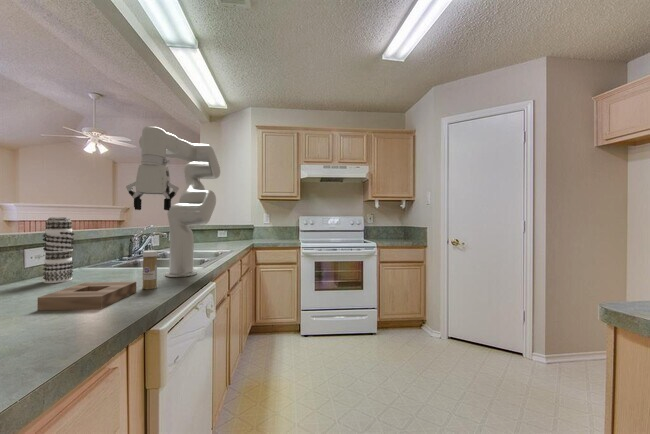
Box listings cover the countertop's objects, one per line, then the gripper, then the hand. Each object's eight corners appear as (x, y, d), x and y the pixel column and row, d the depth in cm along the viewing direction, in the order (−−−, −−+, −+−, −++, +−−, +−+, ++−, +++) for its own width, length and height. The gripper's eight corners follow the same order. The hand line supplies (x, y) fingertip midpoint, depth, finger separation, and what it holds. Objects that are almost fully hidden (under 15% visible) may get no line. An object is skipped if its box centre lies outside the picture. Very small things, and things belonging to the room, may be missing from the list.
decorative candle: (74, 277, 119) (75, 217, 119) (73, 281, 112) (74, 217, 112) (43, 280, 113) (44, 217, 113) (40, 284, 106) (41, 217, 106)
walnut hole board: (85, 292, 95) (85, 282, 95) (136, 291, 97) (136, 281, 97) (37, 310, 77) (37, 297, 77) (101, 308, 79) (101, 296, 79)
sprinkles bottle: (140, 290, 99) (140, 251, 99) (144, 287, 104) (144, 250, 104) (155, 289, 101) (155, 251, 101) (158, 286, 105) (159, 249, 105)
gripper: (182, 165, 107) (181, 210, 106) (133, 163, 105) (132, 210, 104) (174, 161, 99) (173, 209, 99) (121, 159, 97) (120, 209, 97)
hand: (152, 209), depth 102 cm, fingers open, 9 cm apart
